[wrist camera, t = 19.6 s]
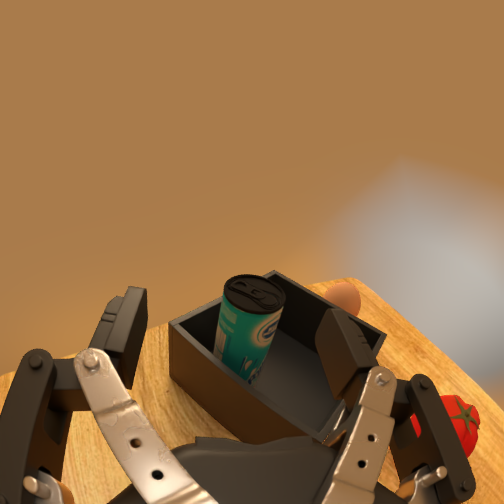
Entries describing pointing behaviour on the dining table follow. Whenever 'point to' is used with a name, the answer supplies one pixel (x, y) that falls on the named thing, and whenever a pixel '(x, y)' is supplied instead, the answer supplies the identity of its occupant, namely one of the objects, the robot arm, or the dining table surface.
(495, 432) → the dining table surface
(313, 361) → the bin
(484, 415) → the dining table surface
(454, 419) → the tomato
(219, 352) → the beverage can
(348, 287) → the egg
